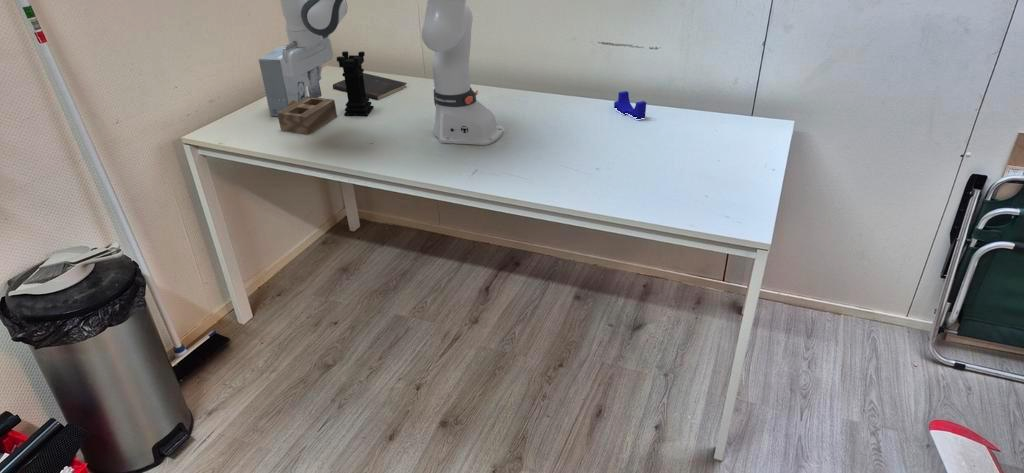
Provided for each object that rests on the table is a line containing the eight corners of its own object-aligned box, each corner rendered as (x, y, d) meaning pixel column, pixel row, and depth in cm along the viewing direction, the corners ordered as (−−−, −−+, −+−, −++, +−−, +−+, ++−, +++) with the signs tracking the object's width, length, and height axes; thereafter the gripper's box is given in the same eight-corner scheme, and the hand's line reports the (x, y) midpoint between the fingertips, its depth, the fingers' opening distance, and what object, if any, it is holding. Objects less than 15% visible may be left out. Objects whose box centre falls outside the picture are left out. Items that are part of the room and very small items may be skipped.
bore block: (337, 116, 223) (334, 99, 220) (309, 134, 211) (305, 117, 208) (310, 112, 227) (306, 96, 224) (281, 130, 214) (277, 113, 211)
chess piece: (373, 107, 230) (365, 51, 219) (367, 116, 223) (358, 58, 212) (351, 107, 230) (342, 51, 220) (344, 116, 224) (334, 58, 213)
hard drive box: (290, 117, 223) (278, 60, 213) (269, 116, 224) (256, 59, 214) (309, 101, 236) (299, 46, 226) (289, 100, 237) (278, 45, 227)
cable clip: (613, 109, 224) (614, 93, 221) (624, 107, 226) (626, 91, 223) (633, 122, 215) (634, 104, 212) (644, 119, 217) (646, 102, 214)
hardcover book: (363, 78, 258) (362, 72, 257) (407, 88, 247) (406, 82, 246) (333, 90, 247) (332, 84, 246) (377, 101, 236) (377, 95, 235)
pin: (323, 94, 203) (317, 62, 197) (317, 98, 200) (310, 66, 195) (314, 93, 204) (307, 61, 199) (307, 97, 201) (300, 65, 196)
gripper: (290, 48, 183) (301, 95, 191) (332, 29, 199) (340, 73, 207) (272, 46, 185) (283, 93, 193) (314, 27, 201) (323, 71, 209)
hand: (313, 82), depth 200 cm, fingers closed on pin, 4 cm apart
